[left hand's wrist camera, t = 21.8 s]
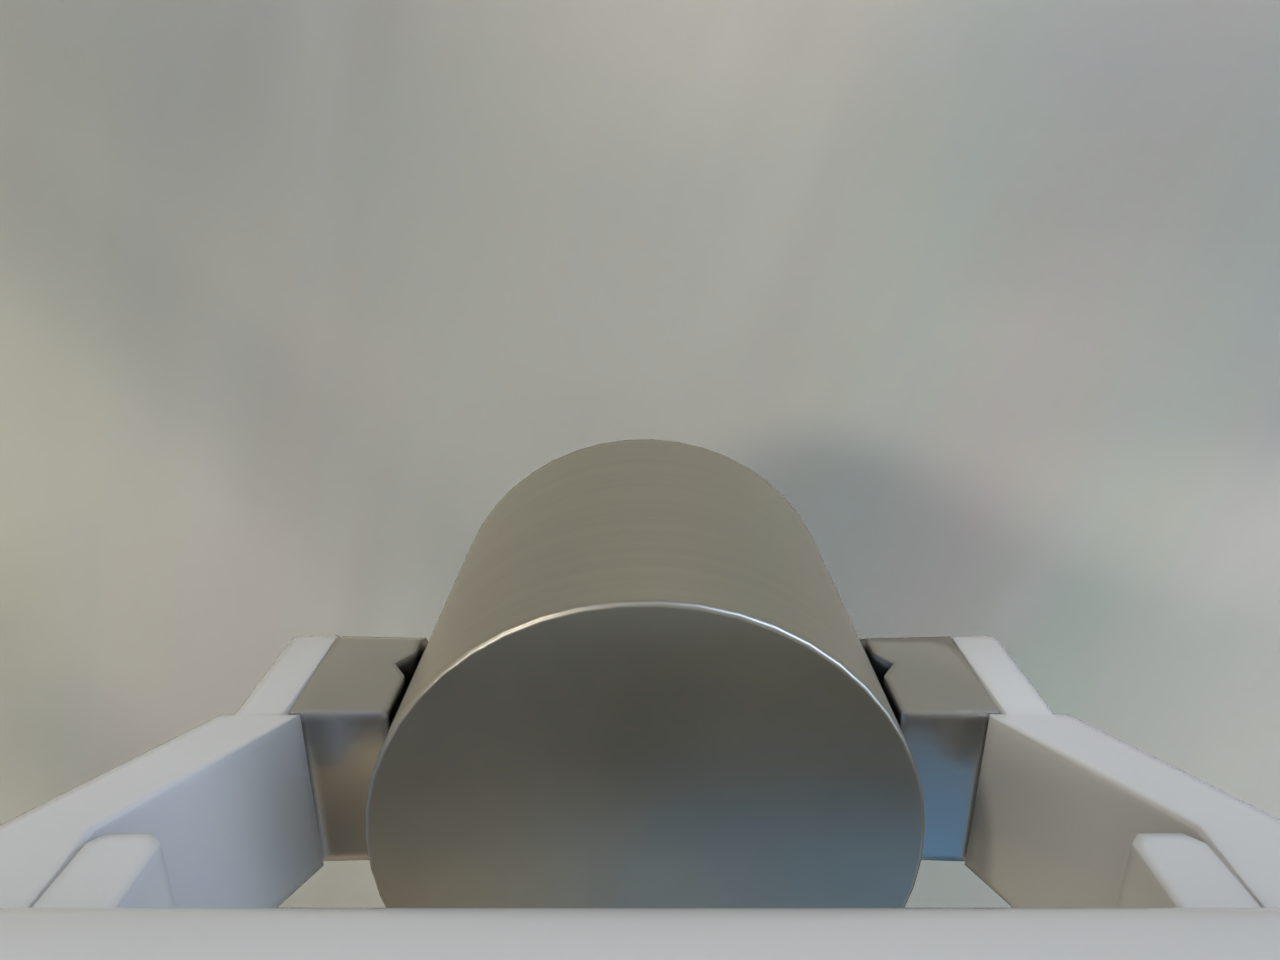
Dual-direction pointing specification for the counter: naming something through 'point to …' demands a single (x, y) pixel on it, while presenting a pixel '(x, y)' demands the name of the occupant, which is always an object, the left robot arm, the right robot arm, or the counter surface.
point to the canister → (644, 709)
